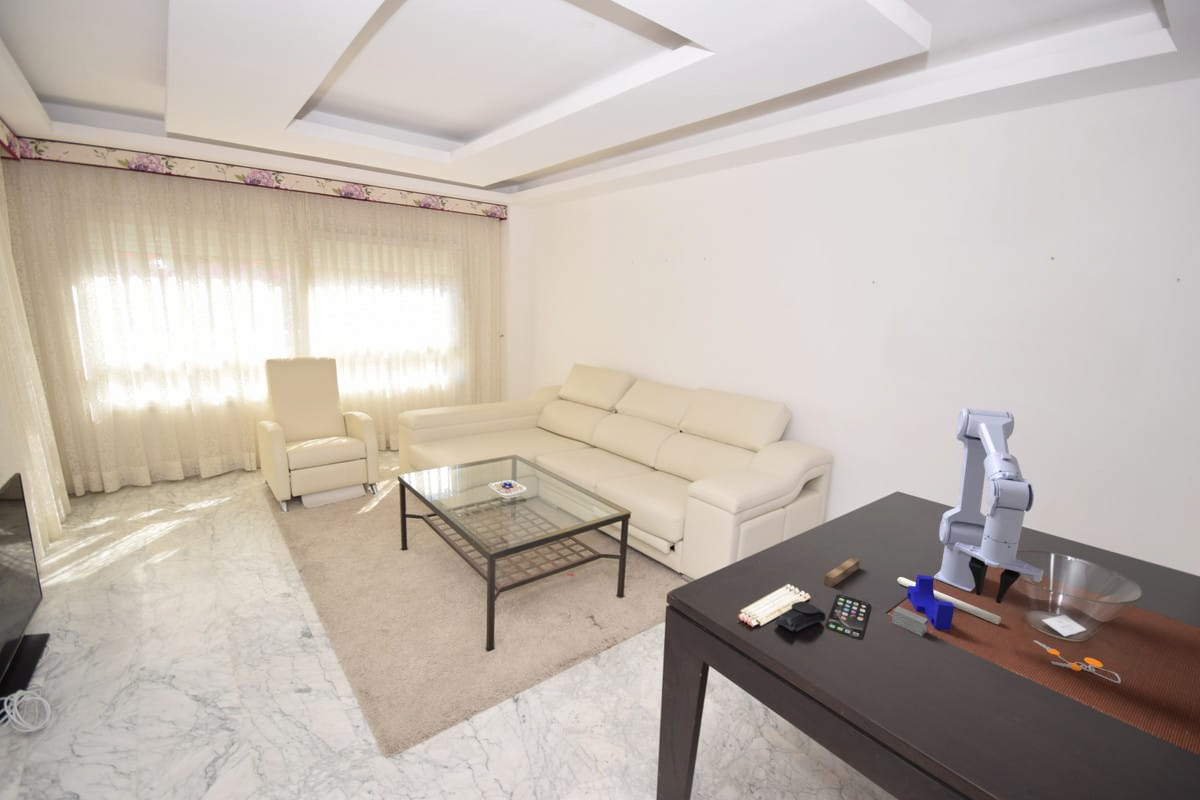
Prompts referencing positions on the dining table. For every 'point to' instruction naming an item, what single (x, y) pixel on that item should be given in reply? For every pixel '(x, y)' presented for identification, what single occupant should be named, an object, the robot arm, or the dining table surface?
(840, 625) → the smartphone
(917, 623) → the grey rectangular block
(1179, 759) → the dining table surface
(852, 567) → the bar
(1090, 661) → the key chain
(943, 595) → the white rod
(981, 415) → the robot arm
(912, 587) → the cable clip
